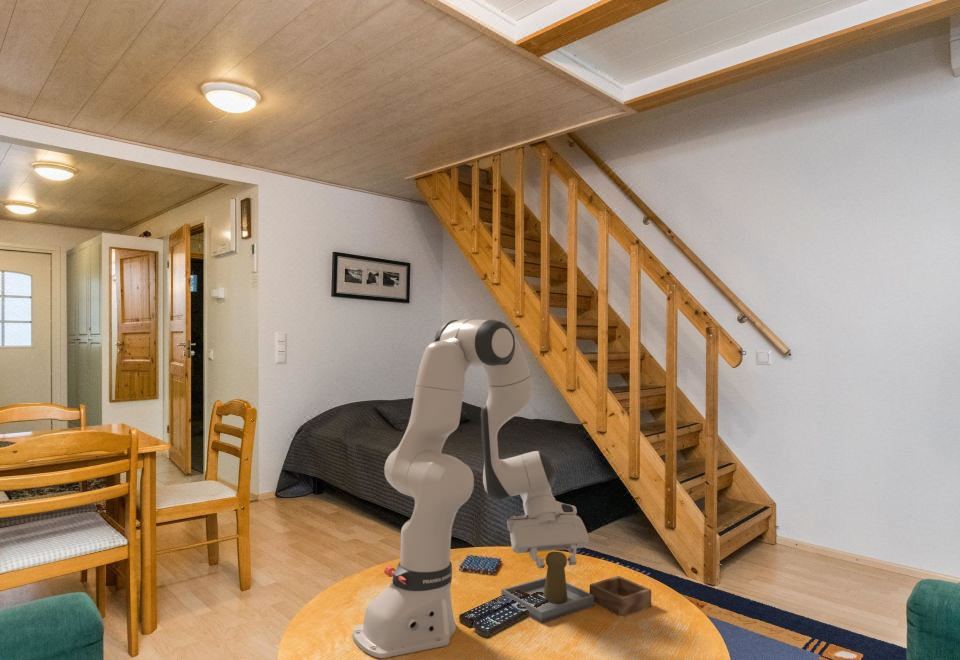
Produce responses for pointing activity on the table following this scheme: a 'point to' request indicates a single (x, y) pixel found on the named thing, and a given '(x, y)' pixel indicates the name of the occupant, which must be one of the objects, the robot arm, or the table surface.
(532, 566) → the table surface
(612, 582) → the holder
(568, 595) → the tray
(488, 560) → the woven mat
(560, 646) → the table surface
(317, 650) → the table surface
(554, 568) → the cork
